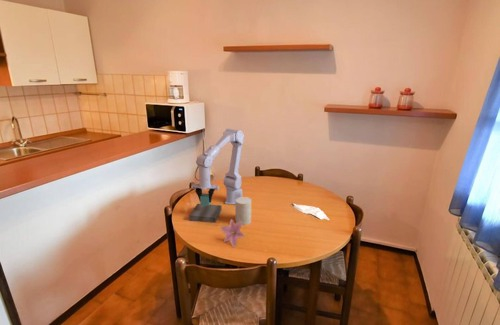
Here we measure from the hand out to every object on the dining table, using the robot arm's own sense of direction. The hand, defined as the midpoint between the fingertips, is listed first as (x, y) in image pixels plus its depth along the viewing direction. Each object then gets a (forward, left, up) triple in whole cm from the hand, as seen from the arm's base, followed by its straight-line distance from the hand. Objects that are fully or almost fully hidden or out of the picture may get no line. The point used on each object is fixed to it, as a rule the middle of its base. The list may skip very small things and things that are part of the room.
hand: (205, 201), depth 148 cm
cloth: (-57, -14, -9) cm, 60 cm away
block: (0, 0, -2) cm, 2 cm away
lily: (-19, +21, -9) cm, 30 cm away
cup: (-21, +3, -9) cm, 23 cm away
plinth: (0, 0, -8) cm, 8 cm away
